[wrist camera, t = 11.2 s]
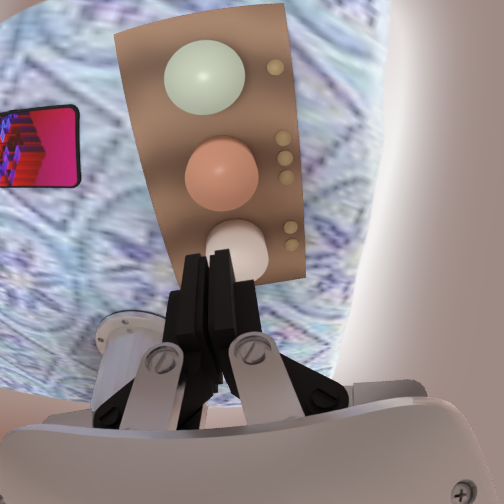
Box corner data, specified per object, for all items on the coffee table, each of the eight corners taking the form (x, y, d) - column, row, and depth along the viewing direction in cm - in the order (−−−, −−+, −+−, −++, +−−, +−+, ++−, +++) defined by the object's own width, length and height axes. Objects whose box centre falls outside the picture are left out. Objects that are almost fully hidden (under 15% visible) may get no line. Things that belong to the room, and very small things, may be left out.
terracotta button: (258, 192, 24) (262, 205, 22) (195, 202, 24) (193, 216, 22) (250, 130, 21) (253, 137, 19) (182, 142, 21) (177, 150, 19)
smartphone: (80, 189, 24) (-30, 189, 21) (83, 185, 24) (-25, 186, 22) (77, 103, 19) (-38, 120, 17) (82, 102, 20) (-33, 118, 18)
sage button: (247, 104, 20) (249, 108, 18) (177, 116, 20) (171, 122, 18) (237, 38, 17) (239, 34, 15) (165, 51, 17) (158, 49, 15)
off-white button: (267, 263, 28) (271, 280, 26) (212, 272, 28) (212, 289, 26) (261, 214, 25) (265, 229, 23) (200, 224, 25) (199, 239, 23)
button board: (301, 265, 31) (306, 278, 29) (184, 282, 31) (182, 297, 29) (278, 8, 17) (284, 2, 15) (122, 36, 17) (112, 34, 15)
